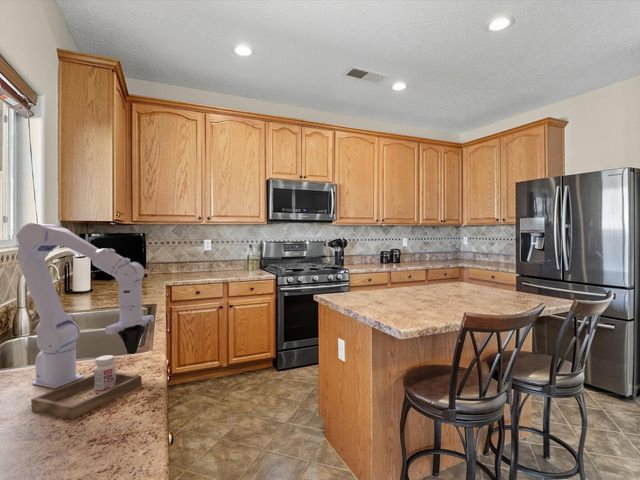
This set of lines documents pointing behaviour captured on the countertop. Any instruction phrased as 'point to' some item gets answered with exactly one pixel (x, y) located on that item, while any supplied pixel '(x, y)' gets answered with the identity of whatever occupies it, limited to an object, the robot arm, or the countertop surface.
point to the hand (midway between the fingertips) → (131, 353)
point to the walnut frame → (50, 406)
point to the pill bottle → (104, 373)
